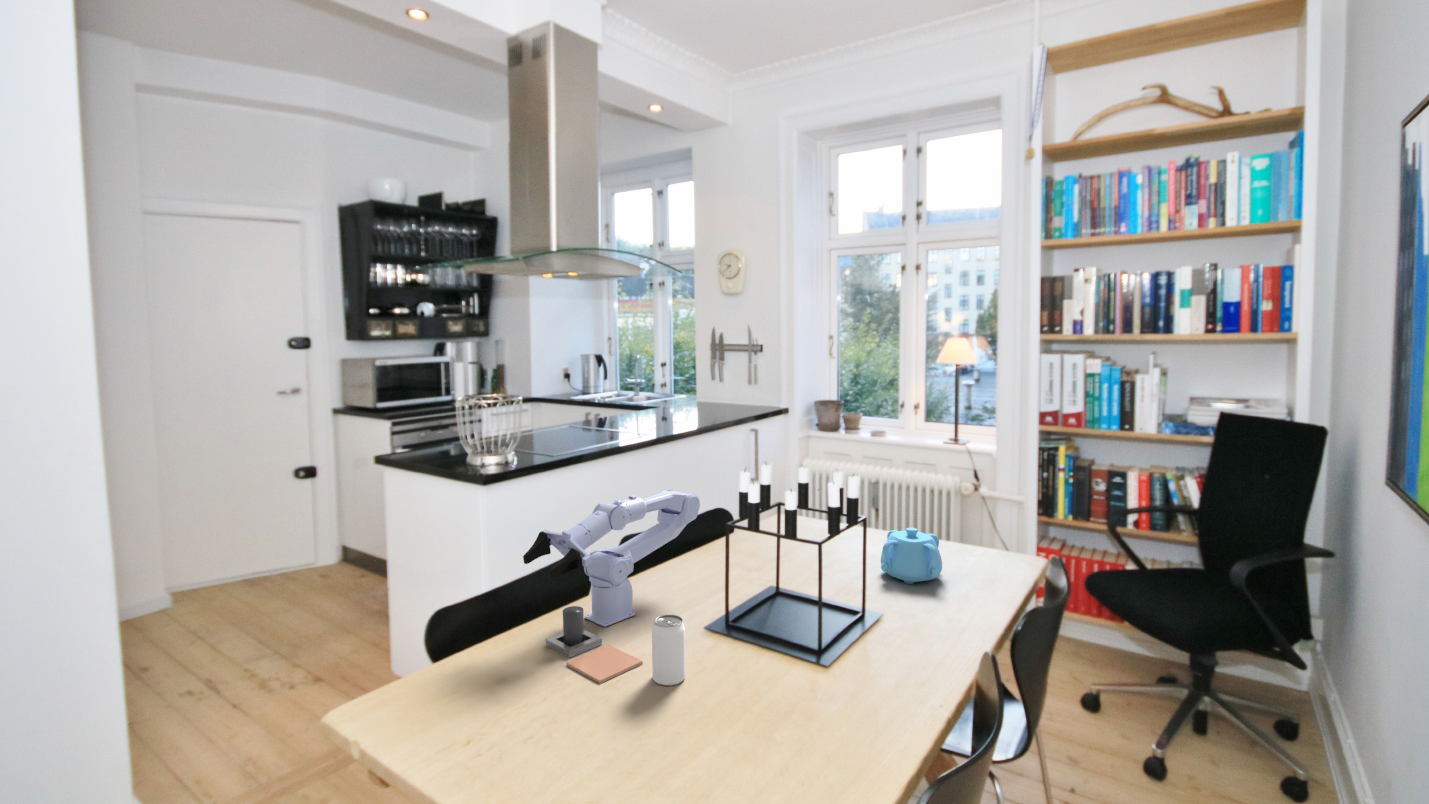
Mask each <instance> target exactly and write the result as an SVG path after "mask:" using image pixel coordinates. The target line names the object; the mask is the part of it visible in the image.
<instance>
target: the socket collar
mask: <svg viewBox="0 0 1429 804" xmlns="http://www.w3.org/2000/svg"><path fill="white" fill-rule="evenodd" d="M602 645H603V639H602V637H601V636H599V635H596V634H594V633H592V632H590V631H588V630H586V629H584V642H582V643H579V644H577V645H574V646H572V647H570V646H568V645H566V644H564V637H563V632H561V633H558V634H555V635H552V636H551V637H550V636H549V637H548V638H546V639H545V647H548V648H549V649H551V650H552V651H555V652H557V653H559V654H561V655H563V656H564V657H566V658H568V659H571V658H574V657H575V656H576V657H577V656H579V655H580V654H583V653H585V652H588V651H591V650H592V649H595V648H598V647H599V646H602Z"/></svg>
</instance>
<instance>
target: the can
mask: <svg viewBox="0 0 1429 804" xmlns="http://www.w3.org/2000/svg"><path fill="white" fill-rule="evenodd" d="M683 621H684V620H683V618H682V617H681V616H679V615H675V614H663V615H659V616H658V617H657V616H656V618H654V620H653V625H652V628H651V646H652V647H651V648H652V649H651V650H652V653H651V654H652V658H651V661H652V664H651V665H652V679H653V681H654V682H655V684H657V685H659V686H665V687H672V686H676V685H677V686H678V685H680V684H681V683H683V682H684V680H685V678H686V630H685V629H686V628H685V627H686V626H685V625H684V623H683Z"/></svg>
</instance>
